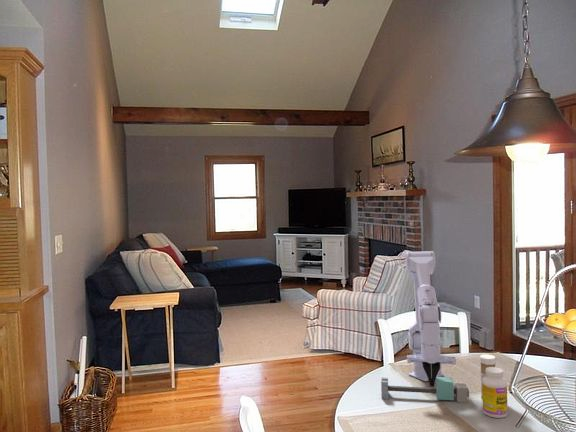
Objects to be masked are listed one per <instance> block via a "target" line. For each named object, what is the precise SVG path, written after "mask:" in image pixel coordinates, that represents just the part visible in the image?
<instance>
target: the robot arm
mask: <svg viewBox="0 0 576 432" xmlns="http://www.w3.org/2000/svg"><path fill="white" fill-rule="evenodd" d="M404 255H405V256H404V257H405V258H404V259H405V269H406V270H405V271H406V274H407V275H408V276H410V277H412V282H413V290H414V291H413V293H414V307H415V309H414V310H415V323H413V324H412V325H411V326H409V328H408V347H409V349H410V351H413V352H412V354H407V355H406V363H407V364H412V363H413V371H411V372H409V373H408V376H411V377H413V378H415V379H418V380H421V381H423V382H428V383H429V388H435V385H436V377H444V375H445V374H444V373H442V364H446V365H453V366H456V365H457V364H456V363H457V362H456V361H457V359H456V356H449V355H444V354H443V355H442V354H441V332H440V331H441V330H440V324H441V323H442V310H441V309H442V308H441V306H440V304H439V301H438V299H437V295H436V289H435V287H433V286H432V285H431V275H433V273H434V271H435V268H436V254H435V252H434V251H433V250H430V251H429V250H427V251H406V252H405V254H404Z"/></svg>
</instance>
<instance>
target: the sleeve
mask: <svg viewBox="0 0 576 432" xmlns="http://www.w3.org/2000/svg"><path fill="white" fill-rule="evenodd" d="M435 388H436V392H437V393H435V397H436V400H442V401H455V394H454V389H455V388H454V380H453V377H451V376H450V377H449V376H447V377H446V376H440V377H436V379H435Z"/></svg>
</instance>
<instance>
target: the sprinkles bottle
mask: <svg viewBox="0 0 576 432" xmlns="http://www.w3.org/2000/svg"><path fill="white" fill-rule="evenodd" d="M479 362H480V390H481V392H482V379H483V378H484V377H485V376H486V373H485V369H486V368H487V367H496V364H497V357H496V356H495V355H492V354H487V353H486V354H481V355H480V356H479ZM481 399H482V395H481Z"/></svg>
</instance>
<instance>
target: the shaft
mask: <svg viewBox="0 0 576 432" xmlns="http://www.w3.org/2000/svg"><path fill="white" fill-rule="evenodd" d="M388 392H400V393H401V392H405V393H422V394H425V393H426V394H436V393H437V392H436V387H421V386H403V385H402V386H399V385H388ZM456 394H457V390H456V388H454V395H456Z"/></svg>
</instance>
